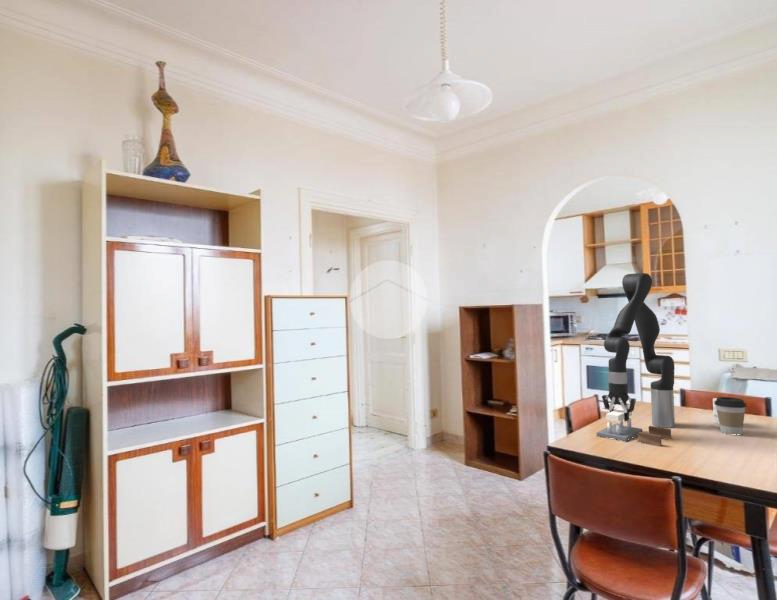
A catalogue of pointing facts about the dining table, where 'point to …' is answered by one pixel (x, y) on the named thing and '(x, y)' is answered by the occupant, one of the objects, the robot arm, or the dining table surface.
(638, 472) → the dining table surface
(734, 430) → the coffee cup
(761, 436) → the dining table surface
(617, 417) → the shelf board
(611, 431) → the peg rack
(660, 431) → the rails
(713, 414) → the ink box
